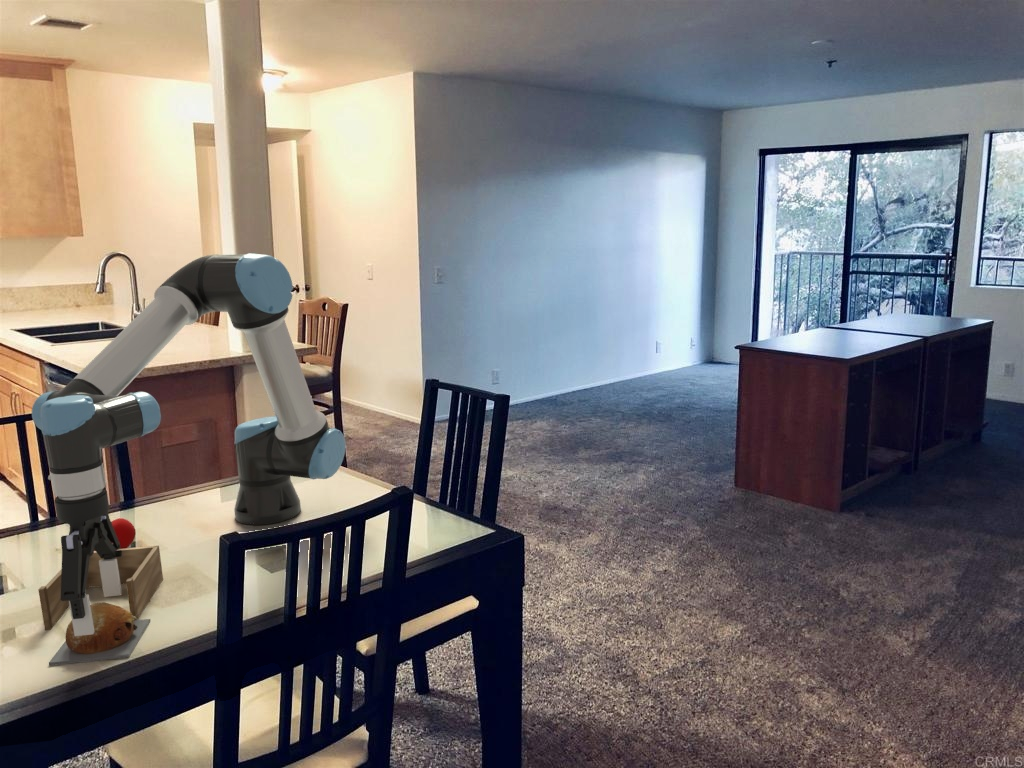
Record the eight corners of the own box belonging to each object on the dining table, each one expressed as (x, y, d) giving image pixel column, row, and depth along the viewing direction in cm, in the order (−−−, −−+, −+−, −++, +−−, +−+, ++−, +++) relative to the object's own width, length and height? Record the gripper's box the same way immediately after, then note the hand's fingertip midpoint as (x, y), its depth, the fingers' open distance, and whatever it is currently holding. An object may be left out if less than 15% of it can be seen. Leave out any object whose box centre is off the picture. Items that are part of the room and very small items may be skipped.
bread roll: (98, 644, 139) (72, 607, 137) (150, 617, 139) (125, 580, 137) (73, 676, 129) (44, 636, 128) (129, 647, 129) (100, 607, 128)
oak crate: (163, 578, 157) (158, 542, 156) (136, 621, 141) (130, 581, 139) (82, 586, 155) (76, 549, 154) (44, 630, 138) (38, 589, 137)
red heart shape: (89, 579, 158) (82, 531, 157) (89, 566, 165) (82, 520, 163) (140, 568, 163) (134, 522, 161) (138, 556, 169) (132, 511, 167)
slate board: (150, 621, 140) (149, 618, 140) (128, 657, 129) (128, 654, 129) (77, 628, 139) (77, 626, 139) (49, 665, 127) (48, 662, 127)
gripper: (83, 470, 140) (101, 582, 145) (20, 523, 116) (44, 656, 120) (129, 467, 141) (145, 578, 146) (76, 518, 117) (97, 650, 121)
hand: (99, 613), depth 133 cm, fingers open, 13 cm apart
